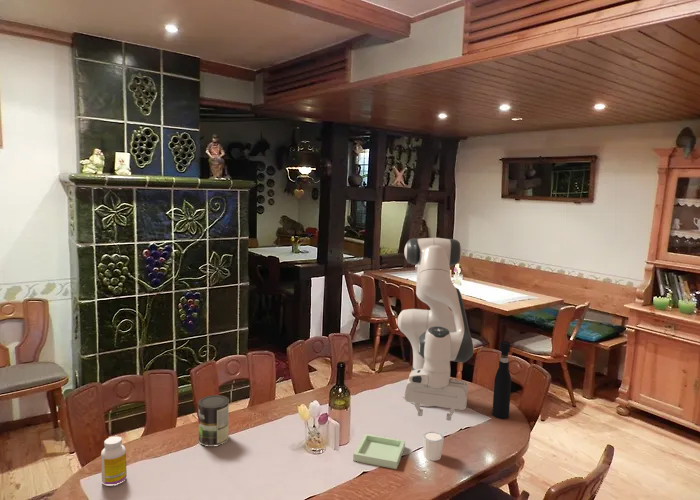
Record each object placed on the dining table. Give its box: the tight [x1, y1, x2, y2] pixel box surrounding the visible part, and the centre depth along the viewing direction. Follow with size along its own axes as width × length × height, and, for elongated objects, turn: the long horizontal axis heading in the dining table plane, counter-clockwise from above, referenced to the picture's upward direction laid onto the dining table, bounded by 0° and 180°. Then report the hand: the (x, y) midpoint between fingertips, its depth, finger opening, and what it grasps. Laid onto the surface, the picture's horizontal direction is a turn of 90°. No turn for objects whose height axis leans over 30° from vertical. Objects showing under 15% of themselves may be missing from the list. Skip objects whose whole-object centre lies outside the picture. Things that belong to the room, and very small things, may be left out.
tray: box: [353, 433, 406, 470], centre depth 164 cm, size 14×14×2 cm
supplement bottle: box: [100, 436, 128, 484], centre depth 144 cm, size 7×7×13 cm
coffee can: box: [197, 394, 230, 446], centre depth 169 cm, size 10×10×14 cm
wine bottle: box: [492, 340, 512, 420], centre depth 193 cm, size 6×6×30 cm
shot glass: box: [422, 431, 445, 462], centre depth 163 cm, size 7×7×7 cm
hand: (434, 417), depth 161 cm, fingers open, 8 cm apart
